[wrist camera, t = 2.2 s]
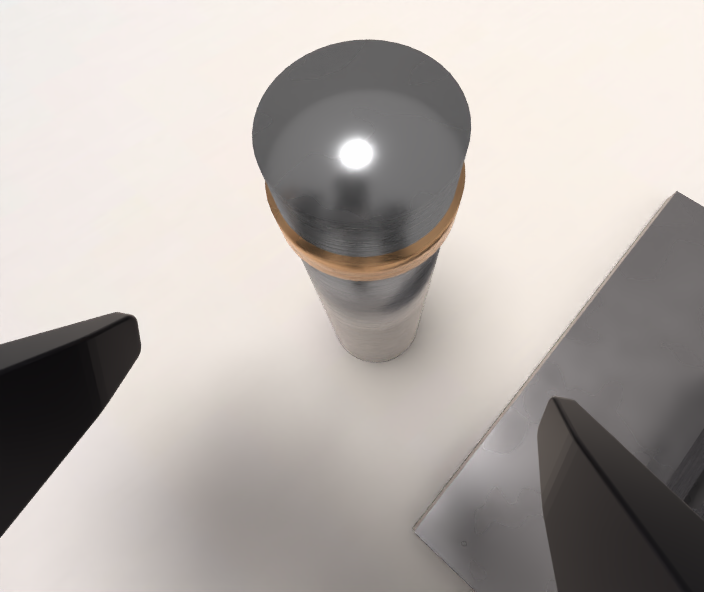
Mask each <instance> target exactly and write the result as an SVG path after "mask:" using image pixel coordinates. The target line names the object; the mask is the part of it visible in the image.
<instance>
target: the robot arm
mask: <svg viewBox="0 0 704 592" xmlns="http://www.w3.org/2000/svg"><path fill="white" fill-rule="evenodd" d="M140 351H141V341H140V335H139V329H138V323H137V319H136V318H135V316H133V315H130V314H125V313H120V312H115V313H111V314H107V315H104V316H100V317H96V318H93V319H89V320H86V321H82V322H79V323H75V324H71V325H68V326H64V327H61V328H57V329H54V330H50V331H46V332H43V333H39V334H36V335H32V336H29V337H25V338H22V339H18V340H14V341H11V342H7V343H4V344H0V538H1V536H2V535H3V534H4V533H5V531H6V530H7V529H8V528H9V527H10V525H11V524H12V523H13V522H14V520H15V519H16V518H17V517H18V515H19V514H20V513H21V512H22V510H23V509H24V508H25V507H26V505H27V504H28V503H29V502H30V501H31V499H32V498H33V497H34V496H35V494H36V493H37V492H38V491H39V489H40V488H41V487H42V486H43V484H44V483H45V482H46V481H47V479H48V478H49V477H50V476H51V475H52V473H53V472H54V471H55V470H56V468H57V467H58V466H59V465H60V463H61V462H62V461H63V460H64V458H65V457H66V456H67V455H68V453H69V452H70V451H71V450H72V449H73V447H74V446H75V445H76V444H77V442H78V441H79V440H80V439H81V437H82V436H83V435H84V434H85V432H86V431H87V430H88V429H89V428H90V426H91V425H92V424H93V423H94V421H95V420H96V419H97V417H98V416H99V415H100V414H101V412H102V411H103V410H104V408H105V407H106V405H107V404H108V402H109V401H110V399H111V398H112V396H113V395H114V393H115V392H116V390H117V389H118V387H119V386H120V384H121V383H122V381H123V380H124V378H125V376H126V375H127V373H128V372H129V370H130V369H131V367H132V366H133V364H134V363H135V361H136V360H137V358H138V356H139V354H140ZM537 444H538V459H539V473H540V488H541V501H542V511H543V517H544V523H545V528H546V533H547V539H548V544H549V549H550V554H551V560H552V565H553V570H554V575H555V581H556V586H557V591H558V592H704V520H703V519H702V518H701V517H700V516H699V515H698V514H697V513H695V512H694V511H693V510H692V509H691V508H690V507H689V506H688V505H687V504H686V503H685V502H684V501H683V500H681V499H680V498H679V497H678V496H677V495H676V494H675V493H674V492H673V491H672V490H671V489H670V488H669V487H667V486H666V485H665V484H664V483H663V482H662V481H661V480H660V479H659V478H658V477H657V476H656V475H655V474H654V473H652V472H651V471H650V470H649V469H648V468H647V467H646V466H645V465H644V464H643V463H642V462H641V461H640V460H638V459H637V458H636V457H635V456H634V455H633V454H632V453H631V452H630V451H629V450H628V449H627V448H626V447H624V446H623V445H622V444H621V443H620V442H619V441H618V440H617V439H616V438H615V437H614V436H613V435H612V434H610V433H609V432H608V431H607V430H606V429H605V428H604V427H603V426H602V425H601V424H600V423H599V422H598V421H596V420H595V419H594V418H593V417H592V416H591V415H590V414H589V413H588V412H587V411H586V410H585V409H584V408H582V407H581V406H580V405H579V404H578V403H577V402H576V401H575V400H573V399H569V398H563V397H558V396H553V397H551V398H550V399H549V401H548V403H547V406H546V408H545V411H544V413H543V416H542V419H541V421H540V424H539V426H538V431H537Z"/></svg>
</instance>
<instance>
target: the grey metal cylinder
mask: <svg viewBox="0 0 704 592" xmlns="http://www.w3.org/2000/svg"><path fill="white" fill-rule="evenodd" d="M470 134H471V117H470V112H469V107H468V103H467V101H466V98H465V96H464V93H463V91H462V90H461V88H460V86H459V84H458V83H457V82H456V80H455V79H454V78H453V76H452V75H451V74H450V73H449V72H448V71H447V70H446V69H445V68H444V67H443V66H442V65H441V64H439V63H438V62H437V61H435V60H434V59H433V58H431V57H429V56H428V55H426V54H424V53H422V52H421V51H418V50H416V49H413V48H411V47H409V46H405V45H402V44H398V43H394V42H388V41H382V40H353V41H346V42H340V43H336V44H332V45H329V46H326V47H323V48H320V49H317V50H315V51H313V52H311V53H309V54H307V55H305V56H303V57H302V58H300V59H298V60H297V61H295V62H294V63H292V64H291V65H290V66H288V67H287V68H286V69H285V70H284V71H283V72H282V73H281V74H279V75H278V76H277V77H276V78H275V80H274V81H273V82H272V83H271V85H270V86H269V87H268V89H267V90H266V92H265V93H264V95H263V97H262V99H261V101H260V103H259V105H258V108H257V111H256V114H255V117H254V122H253V130H252V141H253V149H254V154H255V157H256V160H257V163H258V166H259V168H260V170H261V173H262V175H263V177H264V179H265V189H266V194H267V200H268V203H269V205H270V208H271V211H272V213H273V215H274V217H275V219H276V221H277V223H278V225H279V227H280V229H281V231H282V233H283V235H284V237H285V239H286V241H287V242H288V244H289V245H290V246H291V248H292V249H293V250H294V251H295V252H296V254H297V255H298V256H299V257H300V258H301V259H302V261H303V263H304V266H305V268H306V270H307V272H308V274H309V276H310V279H311V281H312V283H313V285H314V287H315V289H316V292H317V294H318V296H319V298H320V300H321V302H322V305H323V307H324V309H325V311H326V313H327V315H328V318H329V320H330V322H331V324H332V326H333V328H334V331H335V333H336V335H337V337H338V339H339V341H340V343H341V344H342V346H343V347H344V348H345V349H346V350H347V351H348V352H349V353H350V354H351V355H353V356H355V357H356V358H359V359H361V360H364V361H368V362H384V361H389V360H391V359H394V358H396V357H398V356H399V355H401V354H402V353H403V352H404V351H406V350H407V349H408V347H409V346H410V345H411V343H412V342H413V340H414V338H415V335H416V332H417V328H418V325H419V321H420V317H421V314H422V310H423V307H424V303H425V299H426V296H427V292H428V289H429V285H430V282H431V278H432V274H433V271H434V267H435V264H436V260H437V256H438V253H439V249H440V246H441V245H442V243H443V242H444V241H445V239H446V237H447V236H448V234H449V232H450V230H451V228H452V226H453V223H454V220H455V217H456V214H457V211H458V208H459V204H460V201H461V198H462V194H463V190H464V184H465V163H464V160H465V156H466V152H467V149H468V145H469V141H470Z"/></svg>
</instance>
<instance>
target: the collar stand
mask: <svg viewBox="0 0 704 592" xmlns="http://www.w3.org/2000/svg"><path fill="white" fill-rule="evenodd" d="M553 396H558V397H563V398H569V399H573V400H575V401H576V402H577V403H578V404H579V405H580V406H581V407H582V408H584V409H585V410H586V411H587V412H588V413H589V414H590V415H591V416H592V417H593V418H594V419H595V420H596V421H598V422H599V423H600V424H601V425H602V426H603V427H604V428H605V429H606V430H607V431H608V432H609V433H610V434H612V435H613V436H614V437H615V438H616V439H617V440H618V441H619V442H620V443H621V444H622V445H623V446H624V447H626V448H627V449H628V450H629V451H630V452H631V453H632V454H633V455H634V456H635V457H636V458H637V459H638V460H640V461H641V462H642V463H643V464H644V465H645V466H646V467H647V468H648V469H649V470H650V471H651V472H652V473H654V474H655V475H656V476H657V477H658V478H659V479H660V480H661V481H662V482H663V483H664V484H665V485H666V486H667V487H669V488H670V489H671V490H672V491H673V492H674V493H675V494H676V495H677V496H678V497H679V498H680V499H681V500H683V501H684V502H685V503H686V504H687V505H688V506H689V507H690V508H691V509H692V510H693V511H694V512H695V513H697V514H698V515H699V516H700V517H701V518H702V519H703V520H704V207H703V206H701V205H700V204H698V203H696V202H694V201H693V200H691V199H689V198H688V197H686V196H684V195H683V194H681V193H679V192H678V191H676V192H675V193H674V194H673V195H672V196H670V197H669V198H668V199H667V200H666V201H665V203H664V204H663V205H662V207H661V208H660V209H659V210H658V212H657V213H656V214H655V216H654V217H653V218H652V219H651V221H650V222H649V223H648V225H647V226H646V227H645V228H644V230H643V231H642V232H641V234H640V235H639V236H638V238H637V239H636V240H635V241H634V243H633V244H632V245H631V247H630V248H629V249H628V250H627V252H626V253H625V254H624V256H623V257H622V258H621V260H620V261H619V262H618V263H617V265H616V266H615V267H614V269H613V270H612V271H611V272H610V274H609V275H608V276H607V278H606V279H605V280H604V281H603V283H602V284H601V285H600V287H599V288H598V289H597V291H596V292H595V293H594V294H593V296H592V297H591V298H590V300H589V301H588V302H587V303H586V305H585V306H584V307H583V309H582V310H581V311H580V313H579V314H578V315H577V316H576V318H575V319H574V320H573V322H572V323H571V324H570V325H569V327H568V328H567V329H566V331H565V332H564V333H563V335H562V336H561V337H560V338H559V340H558V341H557V342H556V344H555V345H554V346H553V347H552V349H551V350H550V351H549V353H548V354H547V355H546V356H545V358H544V359H543V360H542V362H541V363H540V364H539V366H538V367H537V368H536V369H535V371H534V372H533V373H532V375H531V376H530V377H529V378H528V380H527V381H526V382H525V384H524V385H523V386H522V388H521V389H520V390H519V391H518V393H517V394H516V395H515V397H514V398H513V399H512V400H511V402H510V403H509V404H508V406H507V407H506V408H505V409H504V411H503V412H502V413H501V415H500V416H499V417H498V419H497V420H496V421H495V422H494V424H493V425H492V426H491V428H490V429H489V430H488V431H487V433H486V434H485V435H484V437H483V438H482V439H481V441H480V442H479V443H478V444H477V446H476V447H475V448H474V450H473V451H472V452H471V453H470V455H469V456H468V457H467V459H466V460H465V461H464V463H463V464H462V465H461V466H460V468H459V469H458V470H457V472H456V473H455V474H454V475H453V477H452V478H451V479H450V481H449V482H448V483H447V484H446V486H445V487H444V488H443V490H442V491H441V492H440V494H439V495H438V496H437V497H436V499H435V500H434V501H433V503H432V504H431V505H430V506H429V508H428V509H427V510H426V512H425V513H424V514H423V516H422V517H421V518H420V519H419V521H418V522H417V523H416V525H415V526H414V527H413V531H414V533H415V534H416V535H417V536H418V537H419V538H421V539H422V540H423V541H424V542H425V543H426V544H427V545H428V546H429V547H430V548H431V549H432V550H433V551H434V552H435V553H436V554H437V555H438V556H439V557H440V558H441V559H442V560H443V561H444V562H446V563H447V564H448V565H449V566H450V567H451V568H452V569H453V570H454V571H455V572H456V573H457V574H458V575H459V576H460V577H461V578H462V579H463V580H464V581H465V582H466V583H467V584H468V585H469V586H470V587H472V588H473V589H474V590H475V591H476V592H558V591H557V586H556V581H555V575H554V570H553V565H552V560H551V554H550V549H549V544H548V539H547V533H546V528H545V523H544V517H543V511H542V501H541V488H540V473H539V459H538V444H537V431H538V426H539V424H540V421H541V419H542V416H543V413H544V411H545V408H546V406H547V403H548V401H549V399H550V398H551V397H553Z"/></svg>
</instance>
